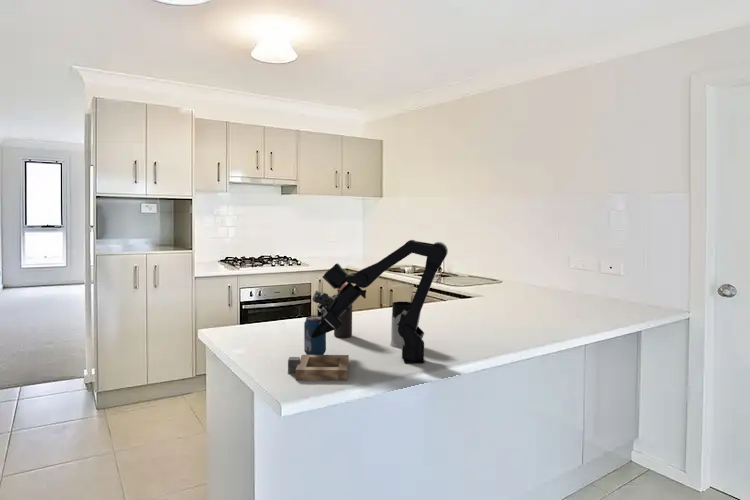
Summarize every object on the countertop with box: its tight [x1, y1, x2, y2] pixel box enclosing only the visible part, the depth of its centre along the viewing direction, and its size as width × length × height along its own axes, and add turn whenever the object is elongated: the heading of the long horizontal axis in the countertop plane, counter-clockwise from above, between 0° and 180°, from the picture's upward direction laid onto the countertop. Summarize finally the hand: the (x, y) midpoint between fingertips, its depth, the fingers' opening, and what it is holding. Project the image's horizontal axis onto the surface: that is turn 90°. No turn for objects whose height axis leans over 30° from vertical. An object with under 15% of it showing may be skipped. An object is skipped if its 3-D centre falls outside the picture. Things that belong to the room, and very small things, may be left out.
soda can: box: [303, 315, 327, 355], centre depth 164 cm, size 7×7×12 cm
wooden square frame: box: [287, 354, 350, 381], centre depth 151 cm, size 18×14×4 cm
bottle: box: [333, 282, 353, 339], centre depth 192 cm, size 7×7×20 cm
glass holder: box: [389, 301, 412, 349], centre depth 184 cm, size 9×14×15 cm, turn 15°
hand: (310, 334), depth 164 cm, fingers closed on soda can, 7 cm apart
